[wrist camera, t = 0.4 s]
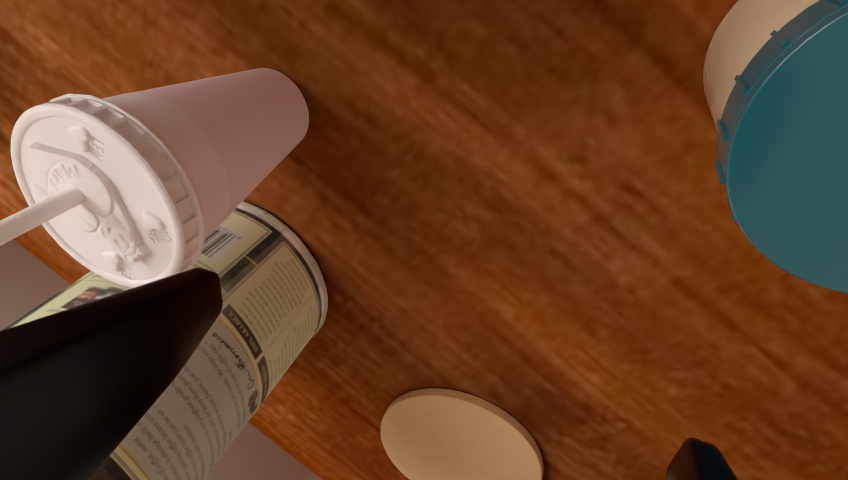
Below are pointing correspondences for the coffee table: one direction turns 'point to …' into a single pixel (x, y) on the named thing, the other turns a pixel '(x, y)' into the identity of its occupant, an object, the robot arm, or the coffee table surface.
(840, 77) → the jar lid
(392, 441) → the coaster
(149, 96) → the smoothie
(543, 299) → the coffee table surface
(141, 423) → the coffee can
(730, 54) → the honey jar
